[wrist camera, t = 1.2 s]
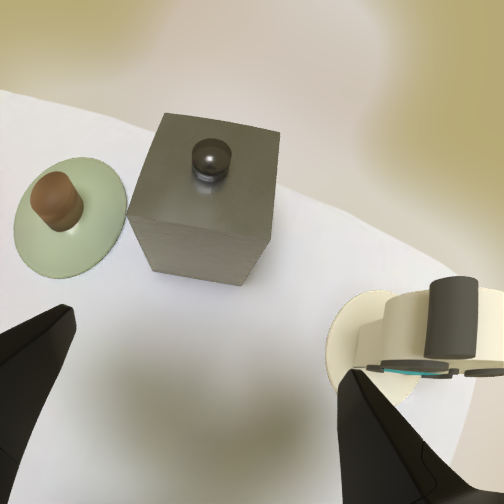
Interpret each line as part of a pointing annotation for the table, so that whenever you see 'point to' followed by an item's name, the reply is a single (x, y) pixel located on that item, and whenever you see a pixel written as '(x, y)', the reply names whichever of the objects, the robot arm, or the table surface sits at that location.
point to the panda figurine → (418, 336)
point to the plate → (84, 232)
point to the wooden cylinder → (57, 201)
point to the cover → (206, 198)
